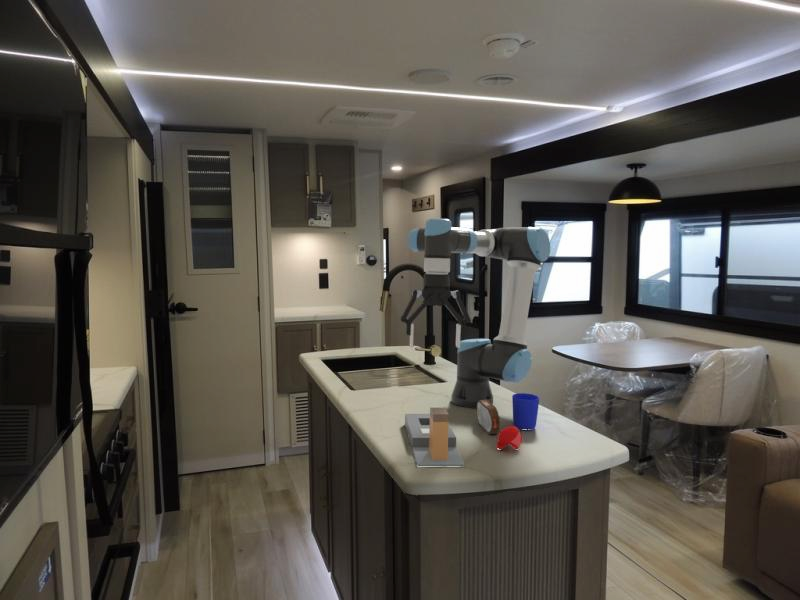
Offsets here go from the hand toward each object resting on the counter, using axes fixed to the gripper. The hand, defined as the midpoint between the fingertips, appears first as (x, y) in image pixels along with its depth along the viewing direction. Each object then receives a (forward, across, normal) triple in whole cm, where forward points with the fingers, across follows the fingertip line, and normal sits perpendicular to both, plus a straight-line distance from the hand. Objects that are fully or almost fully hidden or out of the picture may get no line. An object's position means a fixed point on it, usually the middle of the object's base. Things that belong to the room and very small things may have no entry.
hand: (434, 346), depth 157 cm
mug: (+27, -31, -9) cm, 42 cm away
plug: (+26, +1, +17) cm, 31 cm away
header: (+27, +1, 0) cm, 27 cm away
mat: (+27, +1, +17) cm, 32 cm away
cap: (+27, -20, +10) cm, 35 cm away
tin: (+27, -18, -6) cm, 33 cm away
